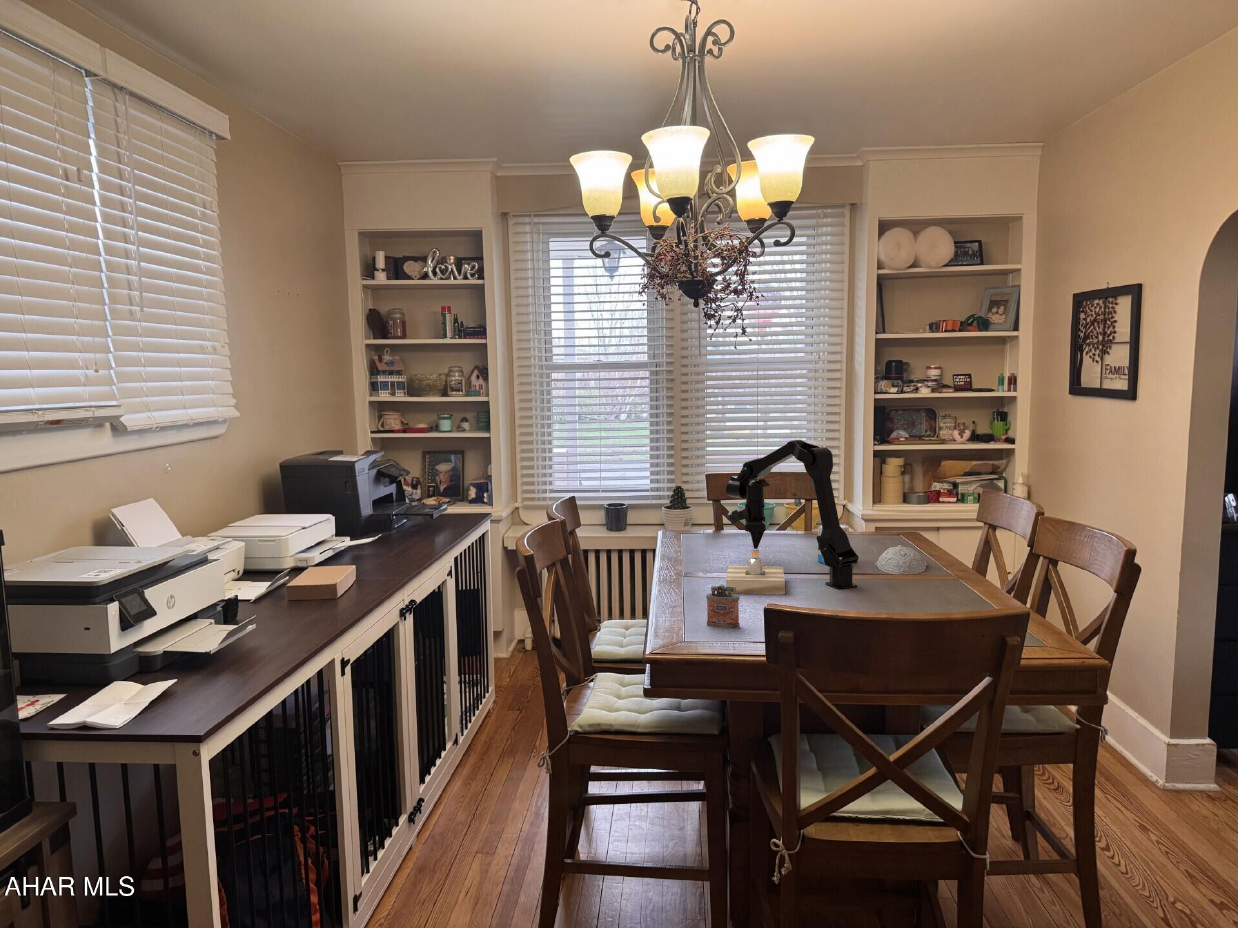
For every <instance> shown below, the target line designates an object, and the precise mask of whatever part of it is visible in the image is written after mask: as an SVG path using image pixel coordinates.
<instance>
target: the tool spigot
mask: <svg viewBox="0 0 1238 928" xmlns="http://www.w3.org/2000/svg"><path fill="white" fill-rule="evenodd" d="M747 562H748V565H747V566H748V572H749V575H763V566H764V565H763V563H764V562H763V558H760V557H759V558H752V557H749V558H748V560H747Z"/></svg>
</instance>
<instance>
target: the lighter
mask: <svg viewBox="0 0 1238 928" xmlns="http://www.w3.org/2000/svg"><path fill="white" fill-rule="evenodd" d="M710 591H711V593H707V594H706V595H705V596H706V597H705V598H706V607H707V608H706V610H707V611H706V612H707V613H706V616H707V620H706V626H708V627H711V628H712V627H713V628H719V629H721V628H722V629H739V628H740V624H741V623H740V622H739V621H740V615H739V614H740V610H739V604H740V603H739V601H740V596H739V595H738V594H731V592H736V587H734V586H726V585H725V584H719V585H711V586H710ZM726 592H728V594H727V593H726Z"/></svg>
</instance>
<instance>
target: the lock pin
mask: <svg viewBox="0 0 1238 928" xmlns="http://www.w3.org/2000/svg"><path fill="white" fill-rule="evenodd" d="M759 551H760V550H759V549H752V550H751V558H760V555H759V554H760V553H759Z"/></svg>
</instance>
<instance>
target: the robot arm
mask: <svg viewBox="0 0 1238 928" xmlns="http://www.w3.org/2000/svg"><path fill="white" fill-rule="evenodd" d="M793 457H794V459H796V460H797V461H799V462H801V463H802V464H803V467H804V469H805V472H806V473H807V474H808V475H809V477H810V478H811V480H812V481H813V482H812V483H813V487H814V491H815V497H816V502H817V503H816V504H817V508H818V513H819V518H820V522H821V526H822V533H821V535H819V536H818V535H816V541H817V544H818V545H817V546H818V548H817V551H818V550H820V552H821V554H822V556H823V559H824V563H825V564H824V566H827V567H829V581H827V582H825V585H827V586H828V587H832V588H835V589H836V590H843V589H850V588H856V587H858V584H856V583H853V582H854V581H853V577H854V576H853V565H854V564H857V563H858V561H859V557H860V556H859V555H858V553H856V551H855V550H854V549H853V546H851V543H850V542H851V541H850V539H848V537H847V534H846V533H845V532H844V530H843V529H842V528H841V527H840V524H841V523H840V520H839V514H838V508H837V505H836V499H835V494H834V489H833V488H834V487H833V484H832V479H831V475H832V472H833V469H834V459H833V458H834V457H833V452H832V451H831V450H830V449H829V448H828V447H825V446H823V447H822V446H819V445H816V444H812V443H809V442H806V441H805V440H802V439H793V440H788V442H787V443H785V444H784V445H781V446H780V447H778V448H776V449H775V450H773V451H771V452H769V453H767V454H766V455H764V456H763V457H760V458H758V457H757V458H754V459H751V460H747V461H744V462H743V464H742V468H741V470H740V471H739V473H738V475H737V476H736V475H735V476H733V475H732V476H730V480H728V482H727V484H726V487H725V492H726V494H727V496H728V497H731V498H736V499H737V498H738V499H745V503H744V507H741V508H738V509H734V510H731V511H729V512H728V513H727V516H728V520H729V521H730V524H731V525H733V524H737V522H740V521H742V520H744V521H745V523H744V531H745V532H746V533H747V532H748V533H749V534H750V536H751V541H752V547H753V550H759V545H760V543H761V540H762V538H763V536H764V533H765V532H766V531H767V530H766V529H767V528H766V527H767V526H766V525H767V524H766V515H765V488H768V487H770V486H771V485H770V483H769V482H768V481H766V479H765V477H766V476H767V475H768V474H770V473H771V471H772V470H773V469H774V468H775V467H776V466H778V465H780V464H782V463H784V462H786V461H787V460H789V459H791V458H793ZM840 557H842V559H839V558H840Z"/></svg>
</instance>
